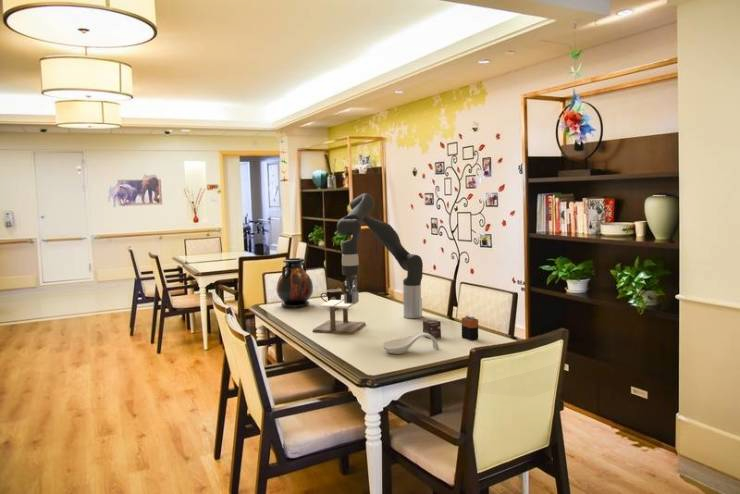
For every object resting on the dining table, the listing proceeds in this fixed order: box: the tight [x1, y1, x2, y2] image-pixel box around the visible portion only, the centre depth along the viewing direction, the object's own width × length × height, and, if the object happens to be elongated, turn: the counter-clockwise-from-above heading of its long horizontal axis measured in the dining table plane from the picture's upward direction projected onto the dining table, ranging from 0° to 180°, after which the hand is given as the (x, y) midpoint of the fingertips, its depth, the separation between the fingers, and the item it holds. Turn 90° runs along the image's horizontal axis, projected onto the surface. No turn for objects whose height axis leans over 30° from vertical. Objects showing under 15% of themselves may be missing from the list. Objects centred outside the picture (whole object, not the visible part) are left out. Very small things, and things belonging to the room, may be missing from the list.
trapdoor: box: [319, 299, 355, 310], centre depth 267 cm, size 14×14×1 cm
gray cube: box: [343, 290, 360, 305], centre depth 246 cm, size 5×5×5 cm
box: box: [422, 319, 442, 340], centre depth 248 cm, size 6×6×7 cm
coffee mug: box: [320, 288, 342, 310], centre depth 318 cm, size 12×9×10 cm
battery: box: [461, 315, 479, 342], centre depth 244 cm, size 4×7×10 cm, turn 31°
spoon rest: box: [381, 331, 440, 355], centre depth 227 cm, size 24×12×7 cm, turn 106°
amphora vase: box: [276, 257, 314, 309], centre depth 324 cm, size 22×22×28 cm
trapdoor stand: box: [312, 299, 366, 335], centre depth 268 cm, size 20×20×13 cm
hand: (351, 301), depth 246 cm, fingers closed on gray cube, 5 cm apart
